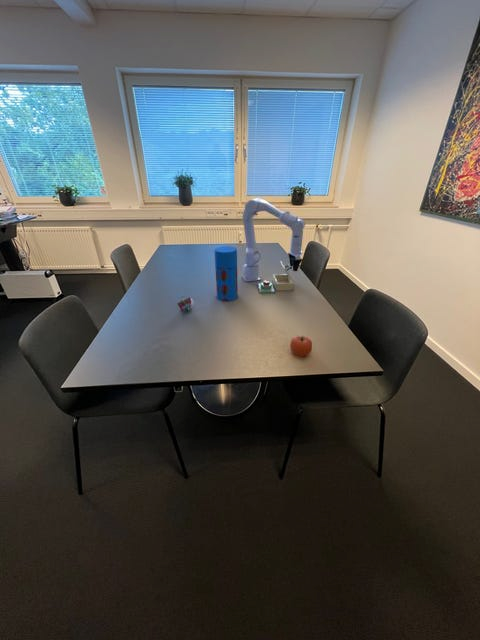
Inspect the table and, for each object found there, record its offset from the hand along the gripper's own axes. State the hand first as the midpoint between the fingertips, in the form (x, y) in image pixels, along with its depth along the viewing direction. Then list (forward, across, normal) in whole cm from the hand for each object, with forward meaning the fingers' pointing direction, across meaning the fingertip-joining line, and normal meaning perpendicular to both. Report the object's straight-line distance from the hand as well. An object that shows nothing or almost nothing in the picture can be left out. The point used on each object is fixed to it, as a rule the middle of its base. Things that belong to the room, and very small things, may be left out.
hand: (293, 268), depth 142 cm
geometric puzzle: (+7, -26, +56) cm, 63 cm away
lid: (+2, 0, +4) cm, 4 cm away
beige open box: (+10, 0, +5) cm, 11 cm away
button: (+7, -4, +15) cm, 18 cm away
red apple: (+10, -61, +10) cm, 63 cm away
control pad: (+10, -4, +15) cm, 19 cm away
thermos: (+10, -12, +37) cm, 40 cm away
